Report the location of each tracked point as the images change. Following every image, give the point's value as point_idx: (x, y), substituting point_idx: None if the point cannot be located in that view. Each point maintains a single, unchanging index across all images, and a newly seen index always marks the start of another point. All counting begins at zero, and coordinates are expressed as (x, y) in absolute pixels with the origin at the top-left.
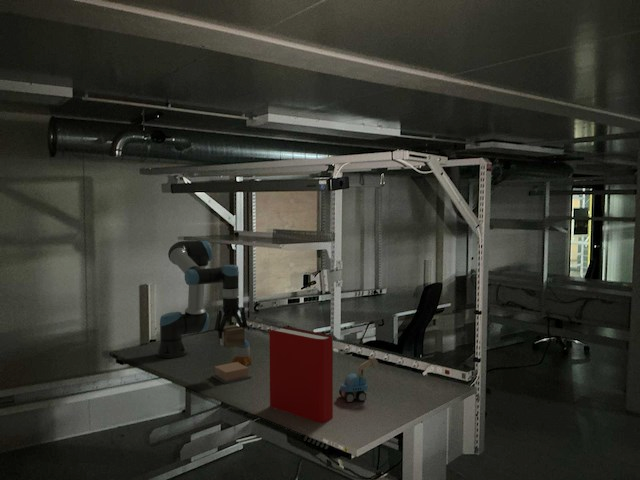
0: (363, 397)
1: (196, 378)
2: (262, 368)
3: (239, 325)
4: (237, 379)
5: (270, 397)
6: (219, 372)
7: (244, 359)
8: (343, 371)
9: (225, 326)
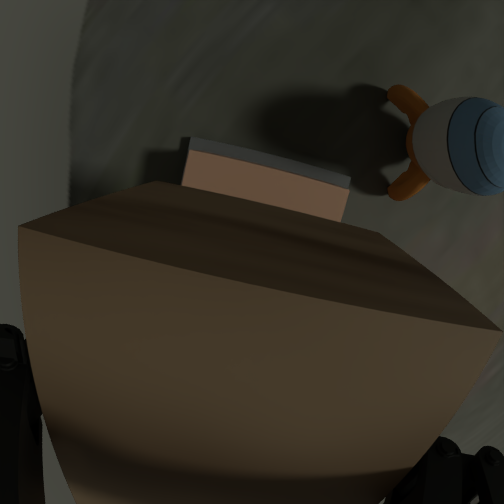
0: None
1: (123, 107)
2: (440, 249)
3: (409, 494)
4: None
5: None
6: None
7: (417, 183)
8: (482, 437)
9: (227, 315)
